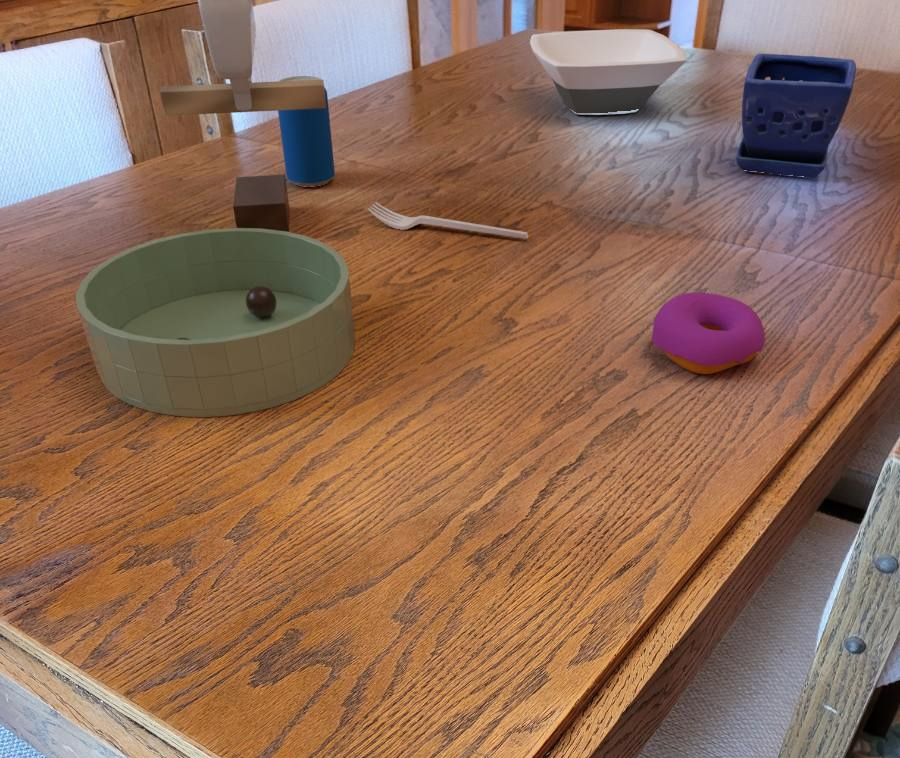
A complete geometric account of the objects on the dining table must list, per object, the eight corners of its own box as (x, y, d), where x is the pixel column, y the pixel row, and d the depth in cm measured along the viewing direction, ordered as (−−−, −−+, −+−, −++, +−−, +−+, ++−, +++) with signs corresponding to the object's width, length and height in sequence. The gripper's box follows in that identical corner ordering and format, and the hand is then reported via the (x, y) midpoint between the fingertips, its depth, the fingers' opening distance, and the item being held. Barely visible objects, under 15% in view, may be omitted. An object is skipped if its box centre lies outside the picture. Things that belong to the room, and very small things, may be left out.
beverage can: (344, 183, 121) (335, 83, 113) (301, 193, 118) (288, 91, 110) (321, 170, 125) (310, 72, 117) (279, 179, 122) (265, 80, 114)
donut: (691, 390, 81) (700, 343, 78) (627, 342, 87) (632, 297, 84) (781, 363, 84) (793, 317, 81) (712, 319, 91) (721, 275, 88)
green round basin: (78, 428, 78) (52, 354, 73) (116, 302, 95) (98, 236, 91) (362, 404, 80) (356, 331, 75) (348, 286, 98) (342, 220, 93)
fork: (523, 246, 105) (524, 229, 103) (366, 225, 110) (365, 209, 109) (531, 235, 107) (532, 219, 106) (377, 215, 112) (376, 200, 111)
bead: (248, 324, 90) (242, 295, 88) (249, 310, 92) (243, 282, 90) (278, 321, 90) (273, 293, 88) (278, 308, 92) (274, 280, 90)
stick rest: (239, 240, 107) (232, 206, 104) (241, 210, 114) (236, 177, 112) (289, 237, 108) (285, 203, 105) (289, 207, 115) (285, 174, 112)
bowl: (519, 90, 152) (521, 32, 146) (651, 84, 154) (658, 27, 148) (543, 130, 136) (546, 67, 131) (690, 123, 138) (699, 60, 132)
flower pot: (829, 186, 117) (856, 84, 109) (725, 176, 121) (744, 76, 112) (832, 154, 126) (857, 58, 118) (735, 146, 130) (753, 51, 121)
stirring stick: (164, 116, 100) (159, 92, 99) (166, 109, 102) (161, 86, 101) (326, 108, 102) (323, 84, 100) (325, 102, 104) (323, 79, 102)
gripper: (199, -60, 100) (221, 81, 109) (184, -28, 85) (211, 132, 94) (256, -61, 100) (274, 79, 110) (251, -30, 85) (272, 129, 95)
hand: (245, 104), depth 102 cm, fingers closed on stirring stick, 2 cm apart
